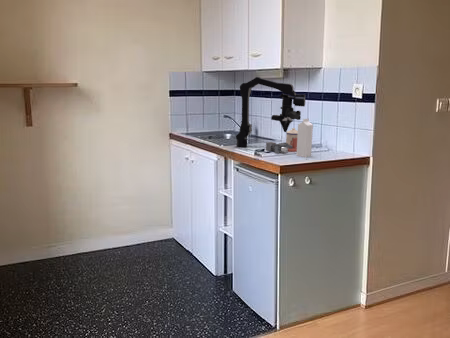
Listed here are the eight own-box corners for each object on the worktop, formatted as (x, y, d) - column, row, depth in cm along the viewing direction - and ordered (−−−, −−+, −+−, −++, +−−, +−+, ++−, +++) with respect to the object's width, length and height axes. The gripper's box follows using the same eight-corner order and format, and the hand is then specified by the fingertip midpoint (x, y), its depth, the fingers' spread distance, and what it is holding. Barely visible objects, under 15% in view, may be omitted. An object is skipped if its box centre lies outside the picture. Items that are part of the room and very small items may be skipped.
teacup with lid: (290, 147, 291) (291, 129, 288) (282, 145, 299) (283, 127, 296) (306, 146, 296) (307, 128, 293) (298, 144, 304) (299, 126, 301)
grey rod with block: (265, 150, 273) (266, 142, 272) (271, 149, 275) (271, 141, 274) (283, 154, 261) (283, 146, 260) (288, 153, 263) (289, 145, 262)
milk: (310, 158, 259) (313, 118, 254) (305, 159, 254) (308, 119, 249) (301, 156, 262) (304, 117, 258) (295, 158, 258) (298, 118, 253)
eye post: (274, 153, 264) (274, 144, 263) (284, 152, 269) (285, 143, 267) (277, 154, 262) (277, 144, 261) (287, 152, 267) (288, 143, 266)
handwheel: (292, 152, 267) (293, 140, 266) (279, 150, 273) (280, 139, 271) (303, 149, 276) (303, 138, 274) (290, 148, 281) (290, 137, 280)
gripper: (285, 107, 259) (283, 134, 263) (308, 106, 270) (306, 133, 274) (271, 105, 268) (269, 132, 271) (294, 104, 279) (292, 130, 282)
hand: (285, 132), depth 275 cm, fingers closed
